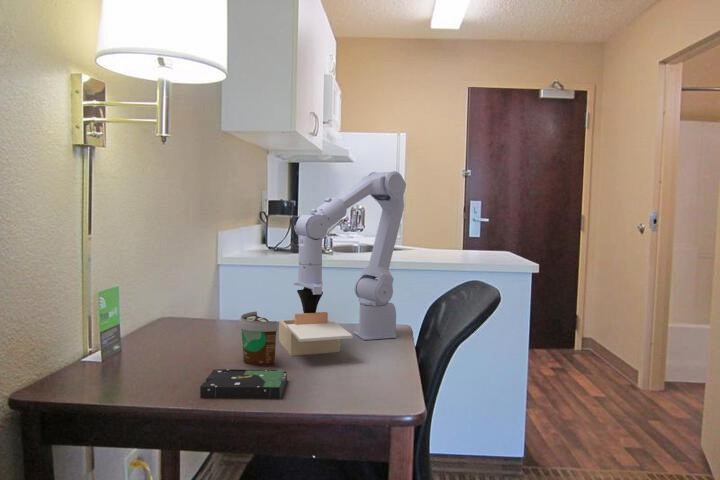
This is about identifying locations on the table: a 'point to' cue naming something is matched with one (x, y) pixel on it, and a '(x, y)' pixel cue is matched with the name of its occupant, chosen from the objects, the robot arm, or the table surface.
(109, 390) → the table surface
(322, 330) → the lid
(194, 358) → the table surface
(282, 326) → the mailer box
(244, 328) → the food container
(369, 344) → the table surface
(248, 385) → the disk drive
